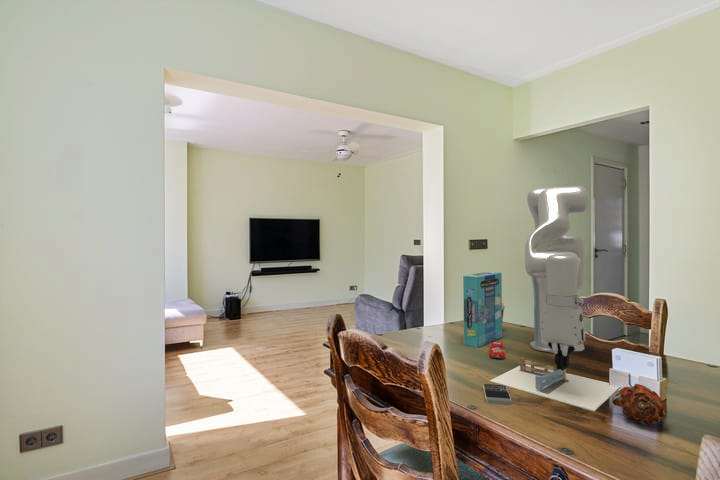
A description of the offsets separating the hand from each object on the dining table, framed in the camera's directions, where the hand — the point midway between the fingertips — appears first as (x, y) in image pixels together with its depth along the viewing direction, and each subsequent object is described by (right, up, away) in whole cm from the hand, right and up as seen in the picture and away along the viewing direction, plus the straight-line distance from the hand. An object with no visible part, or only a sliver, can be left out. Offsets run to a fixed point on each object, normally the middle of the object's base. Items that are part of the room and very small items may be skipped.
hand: (561, 368), depth 104 cm
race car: (-5, -7, +34) cm, 35 cm away
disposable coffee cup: (+5, -6, +68) cm, 69 cm away
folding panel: (-1, -5, +4) cm, 7 cm away
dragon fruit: (+9, -7, -16) cm, 20 cm away
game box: (-5, -6, +51) cm, 52 cm away
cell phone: (-18, -7, -2) cm, 20 cm away
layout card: (0, -6, +5) cm, 8 cm away
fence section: (0, -6, +12) cm, 14 cm away
